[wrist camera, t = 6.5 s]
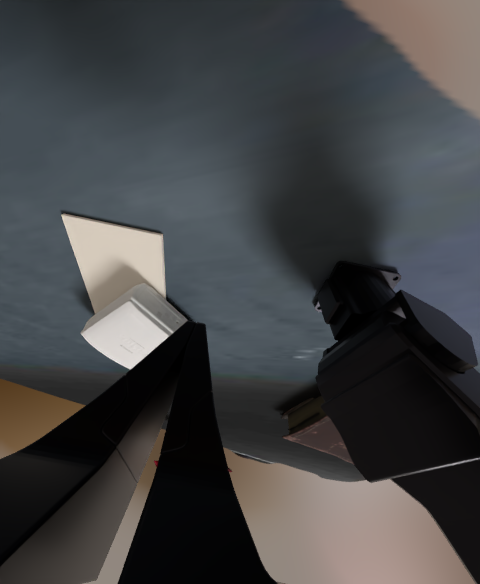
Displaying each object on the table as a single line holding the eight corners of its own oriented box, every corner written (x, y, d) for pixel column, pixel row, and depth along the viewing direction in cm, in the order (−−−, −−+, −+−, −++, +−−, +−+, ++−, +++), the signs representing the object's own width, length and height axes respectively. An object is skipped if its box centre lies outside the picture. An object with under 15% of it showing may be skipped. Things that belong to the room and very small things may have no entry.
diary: (346, 370, 32) (358, 402, 28) (453, 418, 37) (476, 452, 33) (278, 413, 42) (280, 442, 38) (369, 447, 48) (379, 475, 43)
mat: (162, 234, 21) (161, 235, 21) (168, 336, 30) (167, 338, 30) (64, 213, 21) (61, 214, 20) (100, 323, 30) (99, 325, 30)
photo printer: (193, 356, 25) (131, 380, 30) (202, 330, 28) (145, 355, 33) (123, 298, 20) (64, 338, 25) (144, 275, 24) (88, 314, 29)
